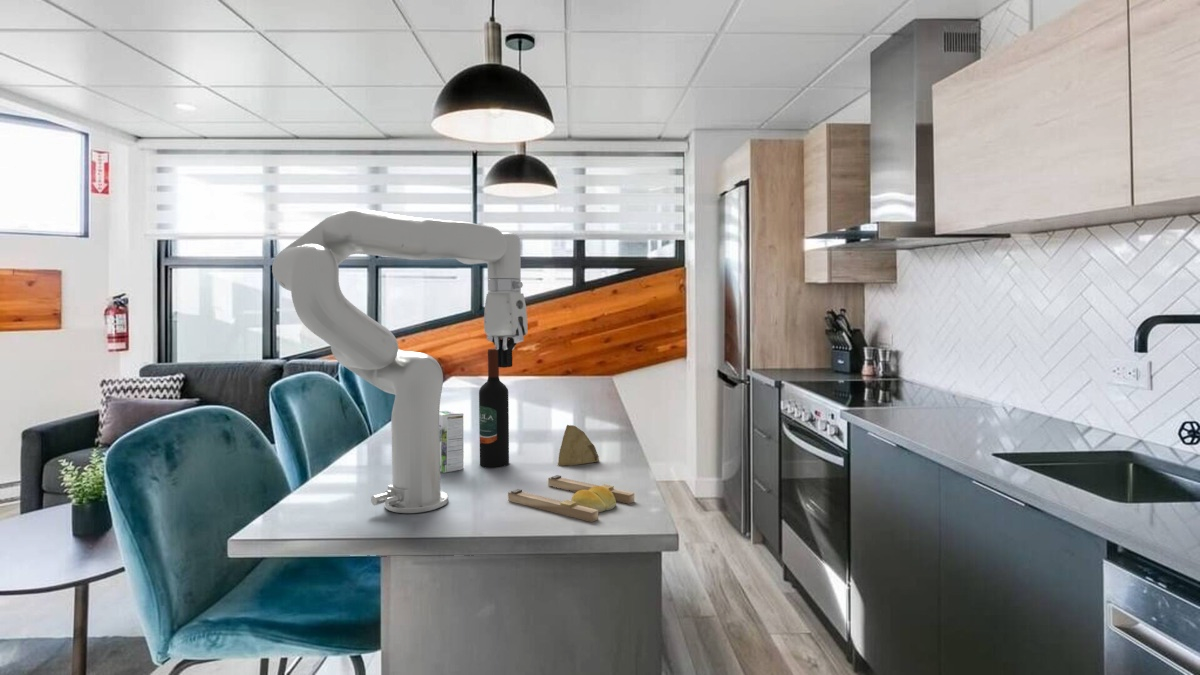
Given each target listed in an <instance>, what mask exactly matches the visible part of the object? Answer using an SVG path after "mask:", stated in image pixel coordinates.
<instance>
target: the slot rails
mask: <svg viewBox="0 0 1200 675" xmlns="http://www.w3.org/2000/svg"><path fill="white" fill-rule="evenodd" d="M547 481H548V482H547V483H548V485H549V486H548V485H547V486H548V487H551V486H553V487H552V488H556V487H557V489H560V488H561V490H566V491H569V490H570V491H569V492H573V491H574V492H573V493H576V492H577V491H579V490H589V489H591V488H592V487H595V486H600V485H597V484H593V483H589V482H585V481H584V482H583V481H579V480H574V479H570V478H569V479H568V478H563V477H562V475H559V474H555V475H554V476H550V477H548V480H547ZM601 486H602V487H605V488H607V489H609V490H610V491H611V492H612V493H613V495H614V497H615V500H616V502H619V503H623V504H628V505H631V504H632V503H634V502H635V492H633V491H632V492H631V491H626V490H621V489H617V488H615V487H614V485H610V484H605V483H604V484H602V485H601ZM507 494H508V495H507V497H508V498H507V499H508V500H507V501H508V502H513V503H515V504H519V505H524V506H527V507H531V508H534V509H540V510H542V511H548V512H551V513H555V514H558V515H563V516H567V517H571V518H574V519H579V520H582V521H586V522H589V523H593V522H596V521H598V520H599V512H598V510H596V509H592V508H588V507H584V506H579V505H577V502H573V501H571V500H569V499H566V500H564V501H562V500H559V499H553V498H551V497H546V496H542V495H537V494H535V493H534V494H533V493H528V492H525V491H523V489H520V488H516V489H513V490H510V491H509V492H508V493H507Z"/></svg>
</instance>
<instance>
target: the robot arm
mask: <svg viewBox="0 0 1200 675" xmlns="http://www.w3.org/2000/svg"><path fill="white" fill-rule="evenodd" d="M352 255H370V256H376V257H377V256H379V257H388V258H397V259H398V258H399V259H406V260H416V261H417V260H418V261H419V260H422V261H423V260H424V261H425V260H426V261H427V260H436V259H437V260H439V259H455V260H457V261H458V262H460V263H462V264H463V265H464V264H465V265H479V264H487V293H486V296H485V303H484V314H483V327H484V329H483V330H484V333H485V335H486V340H487V341H489V342H491V343H493V345H494V346H495V348H494V349H496V350H498V367H499V368H504V369H505V368H512V367H513V350H515V346H516V345H517V344H518V343H522V342H524V339H525V338H524V336H526V335H527V334H528V328H529V327H528V314H527V313H528V311H527V305H526V300H525V296H524V293H523V292H522V288H523V286H524V285H523V282H521V281H522V280H521V274H522V273H521V270H522V269H521V268H522V267H521V239H520V236H519V235H518V234H516V233H512V232H502V231H501V230H499V229H498V228H496V227H493V226H492V225H491V226H490V225H485V224H480V223H479V224H478V223H473V222H467V221H458V220H457V221H454V220H444V219H435V218H434V219H433V218H424V217H416V216H415V217H414V216H408V215H400V214H396V213H395V214H394V213H388V212H383V211H376V210H370V209H362V208H350V209H345V210H343V211H338V212H336V213H333V214H331V215H329V216H327V217H325V219H323V220H322V221H320V222H319V223H318V224H316V225H314V227H312V228H311V229H310V230H309V231H306V233H304V234H303V235H301V236H300V237H298V238H297V239H296V240H295V241H293V242H291V243H290V244H289V245H288V246H286V247H285V248H283V249H282V250H281V251H280V252H279V253H277V254H276V256H275V258H274V260H273V262H272V267H271V269H272V270H271V273H272V277H273V278H274V280H275V282H276V283H277V284H278V285H279V286H280V287H282V288H283V289H285V290H287V291H290V293H291V300H292V303H293V307H294V309H295V312H296V315H297V316H298V318H299V320H300V322H301V323H302V324H303V325H304V326H305V327H306V329H308V330H309V331H310V332H311V333H313V334H314V335H315V336H317V337H318V338H319V339H321V340H323V341H324V342H325V343H327V344H328V345H329V346H330V350H331V354H332V355H333V357H334V358H335V360H336V362H338V363H339V364H340V365H341V366H342V367H343V368H344V367H345V368H346V369H348V370H349V372H352V373H353V374H355V375H356V376H358V377H359V378H361V379H362V380H365V381H366V382H368V384H371V385H372V386H374V387H376V388H377V389H379V390H381V391H383V392H384V393H387V394H390V395H391V394H392V395H393V396H394V401H393V405H392V410H391V419H390V420H391V421H390V422H391V424H390V427H391V428H390V429H391V430H390V432H391V464H392V466H391V470H392V471H391V472H392V476H391V477H392V484H389V485H387V490H385V492H384V493H378V494H374V495H372V496H371V497H370V503H371V504H372V506H377V505H381V504H384V507H385V509H386V510H387V511H390V512H393V513H398V514H419V513H425V512H431V511H435V510H436V509H437V510H438V509H440V508H441V507H444V506H445V505H447V504H448V502H449V495H448V493H446V492H444V491H443V490H441V471H440V428H439V411H441V410H440V406H441V398H442V390H443V384H444V374H443V370H442V367H441V365H440V363H439V362H438V360H436V358H434V357H433V356H431V355H429V354H427V353H425V352H419V351H409V350H402V349H400V348H399V343H398V340H397V338H396V336H395V334H393V332H391V330H390V329H389V328H387V327H385V326H384V325H383V324H381V323H380V322H378V321H376V320H375V319H373V318H372V317H371V316H369V315H368V314H366V313H365V312H364V311H362V310H361V309H359V308H358V307H356V306H355V305H354V304H353V303H352V302H350V301H349V300H348V299H347V298H346V297H345V295H344V294H343V291H342V290H341V287H340V282H339V281H340V280H339V279H340V278H339V275H340V271H339V270H340V269H339V265H340V264H342V262H344V261H345V260H346V259H347V258H348V257H350V256H352Z"/></svg>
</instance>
